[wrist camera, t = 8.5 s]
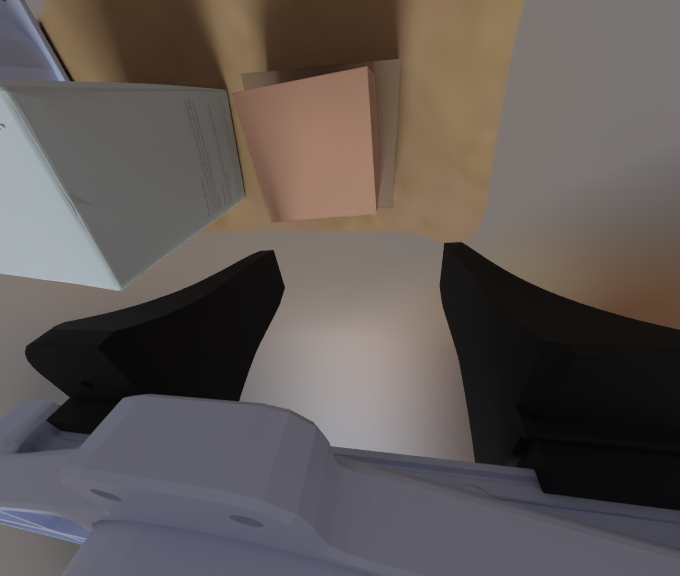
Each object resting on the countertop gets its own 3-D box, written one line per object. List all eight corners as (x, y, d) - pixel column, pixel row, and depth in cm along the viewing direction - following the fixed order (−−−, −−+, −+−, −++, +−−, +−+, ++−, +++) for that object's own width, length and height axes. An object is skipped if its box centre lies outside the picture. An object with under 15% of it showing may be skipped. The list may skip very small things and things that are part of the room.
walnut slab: (289, 191, 21) (270, 208, 18) (270, 77, 17) (241, 73, 13) (392, 189, 19) (392, 208, 16) (399, 66, 15) (401, 58, 12)
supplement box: (126, 81, 18) (-219, 64, 8) (230, 88, 17) (-2, 80, 7) (164, 192, 22) (-25, 273, 12) (247, 201, 22) (121, 296, 11)
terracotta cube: (300, 191, 17) (271, 222, 13) (278, 93, 14) (231, 93, 10) (380, 183, 15) (376, 213, 11) (375, 74, 13) (367, 66, 9)
